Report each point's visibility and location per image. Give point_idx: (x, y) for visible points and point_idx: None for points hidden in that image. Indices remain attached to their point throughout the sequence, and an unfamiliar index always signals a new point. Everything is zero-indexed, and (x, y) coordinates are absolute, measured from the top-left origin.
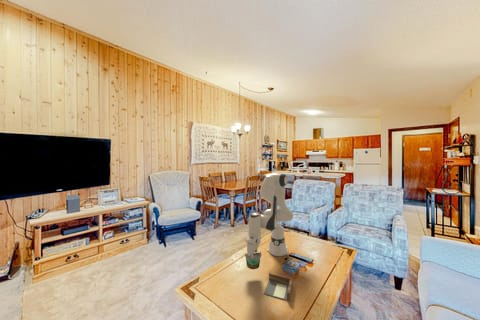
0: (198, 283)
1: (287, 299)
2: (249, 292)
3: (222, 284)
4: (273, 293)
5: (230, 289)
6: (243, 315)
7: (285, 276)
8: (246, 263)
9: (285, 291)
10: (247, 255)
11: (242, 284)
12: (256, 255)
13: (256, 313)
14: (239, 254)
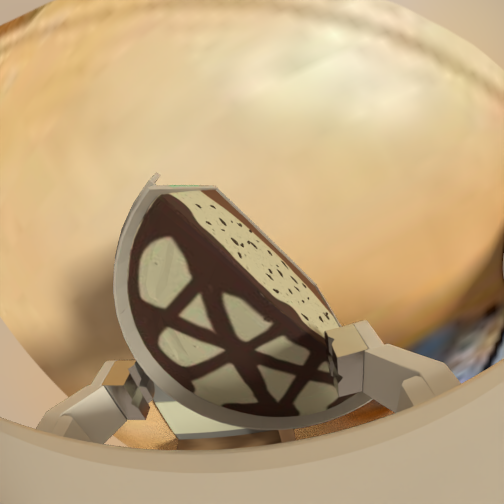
0: (18, 36)
1: (179, 442)
2: (90, 297)
3: (49, 119)
4: (170, 399)
5: (43, 190)
6: (10, 330)
7: (292, 439)
8: (207, 186)
9: (220, 430)
10: (118, 268)
11: (112, 221)
12: (245, 387)
13: (44, 366)
14: (420, 22)
